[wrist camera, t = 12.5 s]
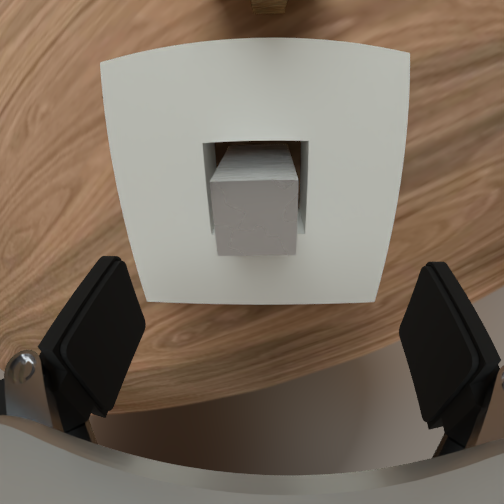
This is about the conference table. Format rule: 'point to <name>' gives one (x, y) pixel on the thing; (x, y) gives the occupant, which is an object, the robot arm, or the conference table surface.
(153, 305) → the conference table surface
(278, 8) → the cross bar
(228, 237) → the square bar
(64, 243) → the conference table surface
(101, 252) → the conference table surface
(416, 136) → the conference table surface
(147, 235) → the socket block
